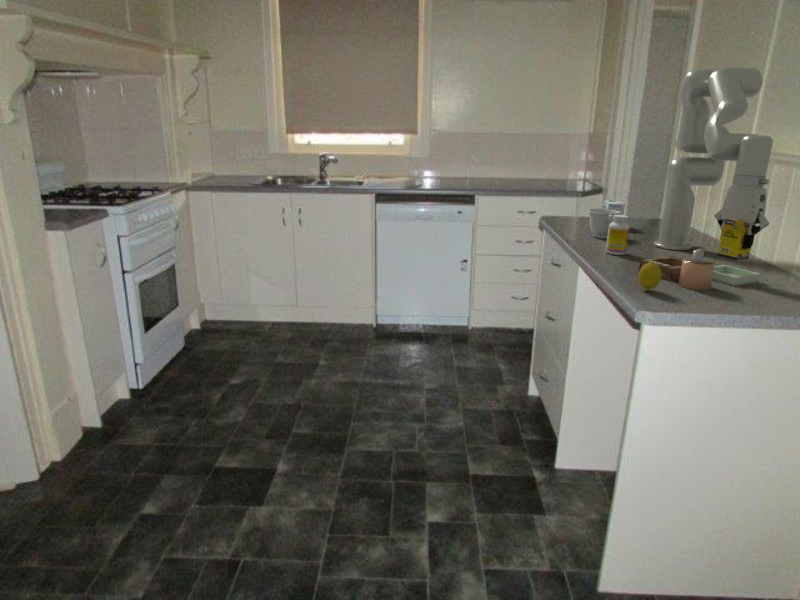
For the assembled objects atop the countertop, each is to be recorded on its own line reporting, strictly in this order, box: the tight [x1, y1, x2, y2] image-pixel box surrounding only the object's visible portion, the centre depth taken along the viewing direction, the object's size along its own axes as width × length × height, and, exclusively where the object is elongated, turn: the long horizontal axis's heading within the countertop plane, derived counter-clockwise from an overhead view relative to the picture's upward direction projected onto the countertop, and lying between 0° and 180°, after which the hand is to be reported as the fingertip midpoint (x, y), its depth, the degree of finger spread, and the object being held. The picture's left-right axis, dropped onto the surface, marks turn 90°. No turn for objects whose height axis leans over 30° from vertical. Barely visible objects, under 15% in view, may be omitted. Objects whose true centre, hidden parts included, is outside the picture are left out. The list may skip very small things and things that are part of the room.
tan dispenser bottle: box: [678, 248, 716, 291], centre depth 156 cm, size 8×8×10 cm
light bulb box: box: [602, 199, 626, 215], centre depth 240 cm, size 11×7×11 cm, turn 172°
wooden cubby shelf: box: [638, 255, 684, 282], centre depth 170 cm, size 14×11×4 cm
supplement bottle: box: [605, 214, 631, 256], centre depth 192 cm, size 7×7×13 cm
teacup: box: [587, 208, 621, 239], centre depth 218 cm, size 12×15×10 cm
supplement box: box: [717, 219, 752, 261], centre depth 162 cm, size 6×6×11 cm
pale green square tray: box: [712, 264, 761, 287], centre depth 165 cm, size 11×11×2 cm
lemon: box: [637, 262, 662, 291], centre depth 151 cm, size 6×6×8 cm
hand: (735, 245), depth 162 cm, fingers closed on supplement box, 6 cm apart
